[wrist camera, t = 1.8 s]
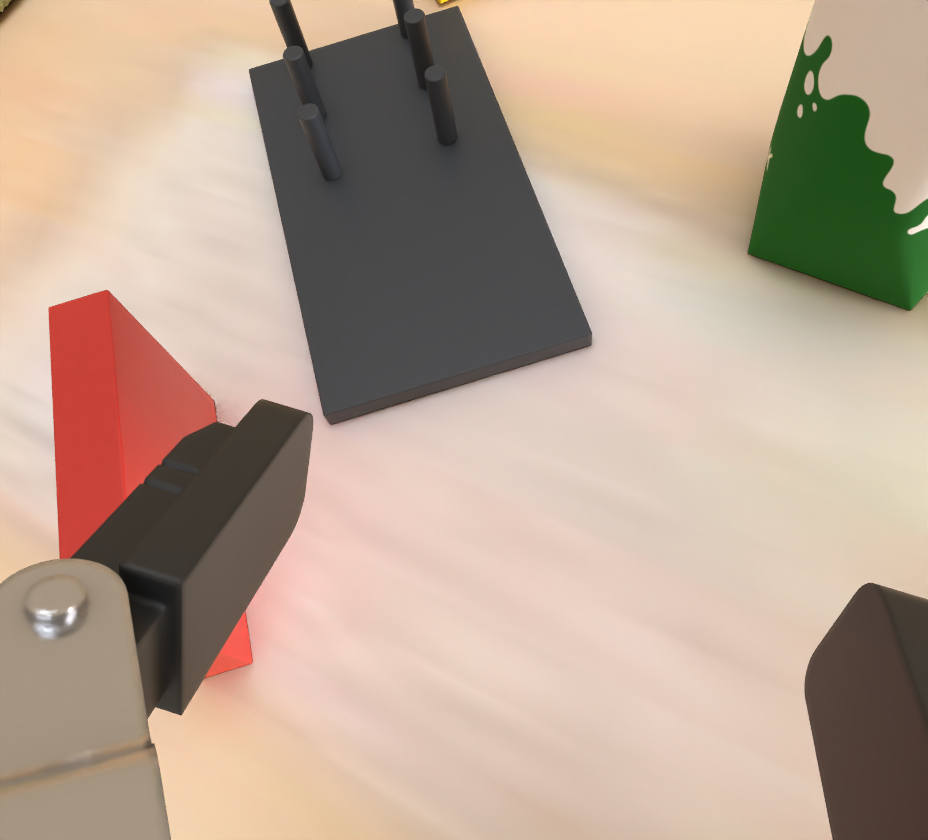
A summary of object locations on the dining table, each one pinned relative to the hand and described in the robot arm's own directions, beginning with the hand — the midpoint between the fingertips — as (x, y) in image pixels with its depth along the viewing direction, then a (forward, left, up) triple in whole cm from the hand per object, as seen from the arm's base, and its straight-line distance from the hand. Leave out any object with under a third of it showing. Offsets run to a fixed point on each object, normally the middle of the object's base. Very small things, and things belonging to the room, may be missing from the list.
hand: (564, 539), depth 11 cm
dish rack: (+1, -24, -19) cm, 31 cm away
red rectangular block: (+13, -10, -19) cm, 25 cm away
